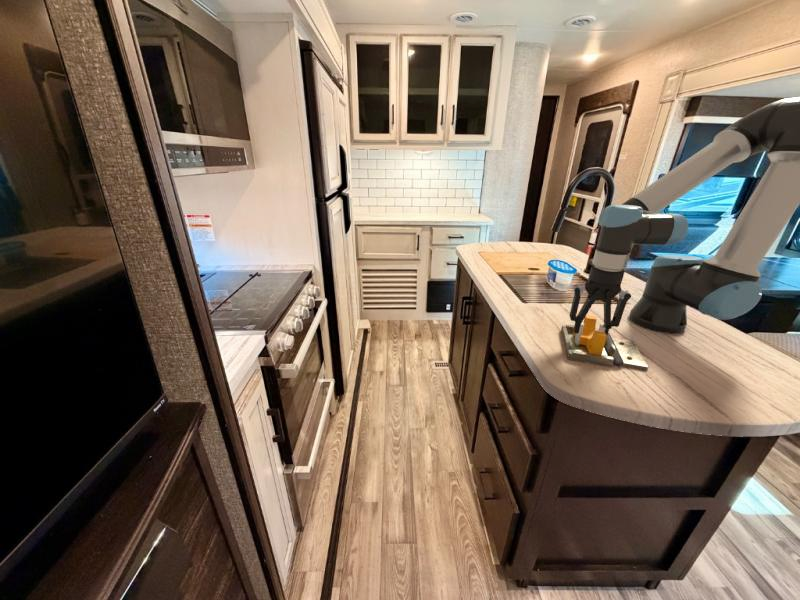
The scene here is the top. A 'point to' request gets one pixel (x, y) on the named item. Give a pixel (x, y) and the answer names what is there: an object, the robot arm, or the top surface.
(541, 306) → the top surface
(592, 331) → the orange stepped block
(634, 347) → the hinge base
